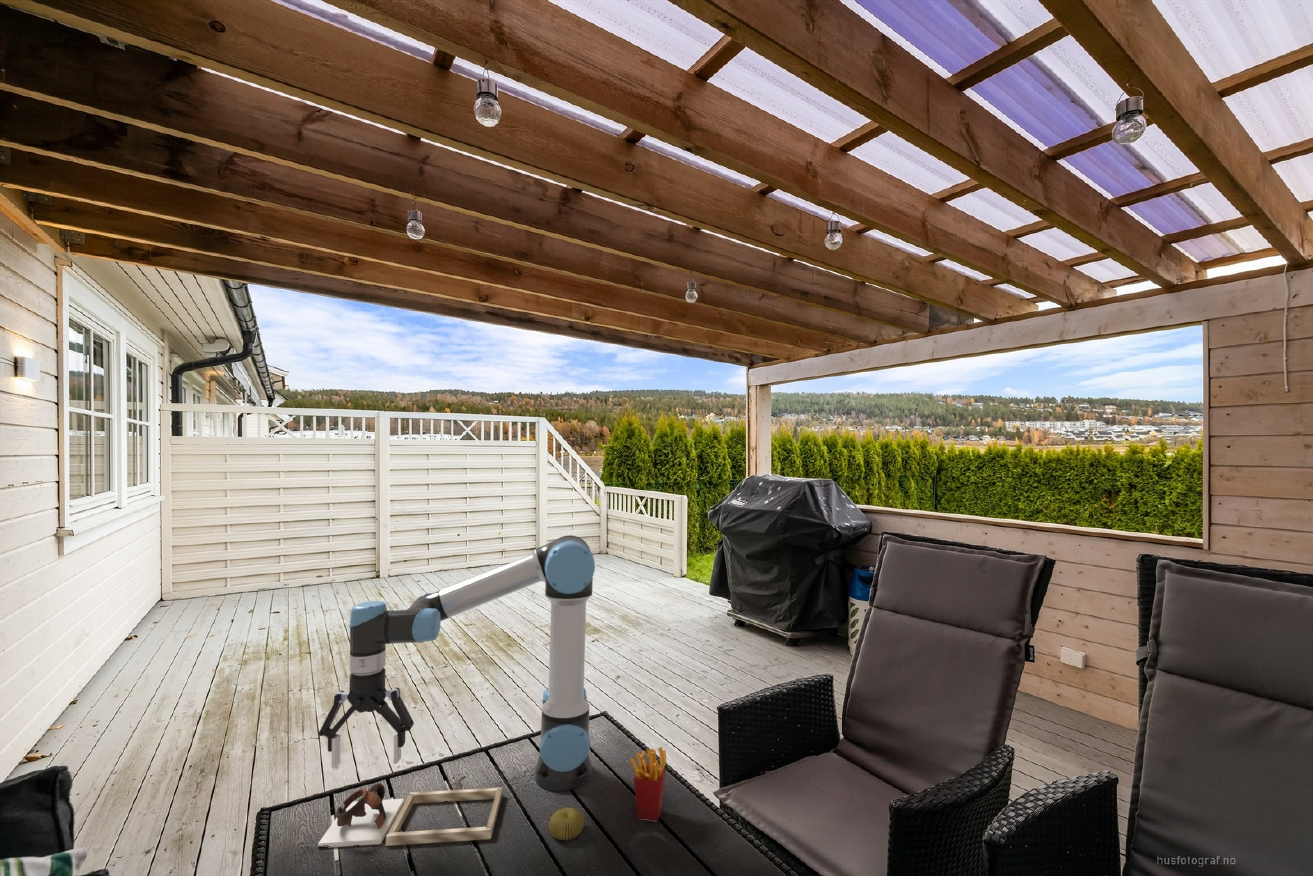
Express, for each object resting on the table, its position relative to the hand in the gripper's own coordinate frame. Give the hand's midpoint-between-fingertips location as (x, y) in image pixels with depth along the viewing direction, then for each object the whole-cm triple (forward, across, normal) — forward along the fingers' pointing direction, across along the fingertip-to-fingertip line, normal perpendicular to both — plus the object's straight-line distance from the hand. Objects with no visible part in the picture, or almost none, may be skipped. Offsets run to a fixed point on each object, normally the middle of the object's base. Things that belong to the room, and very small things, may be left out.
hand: (366, 762), depth 131 cm
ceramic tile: (+14, -1, 0) cm, 14 cm away
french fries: (+15, +65, -2) cm, 67 cm away
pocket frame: (+14, +18, 0) cm, 23 cm away
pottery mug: (+13, 0, -1) cm, 13 cm away
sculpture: (+15, +46, -7) cm, 49 cm away
